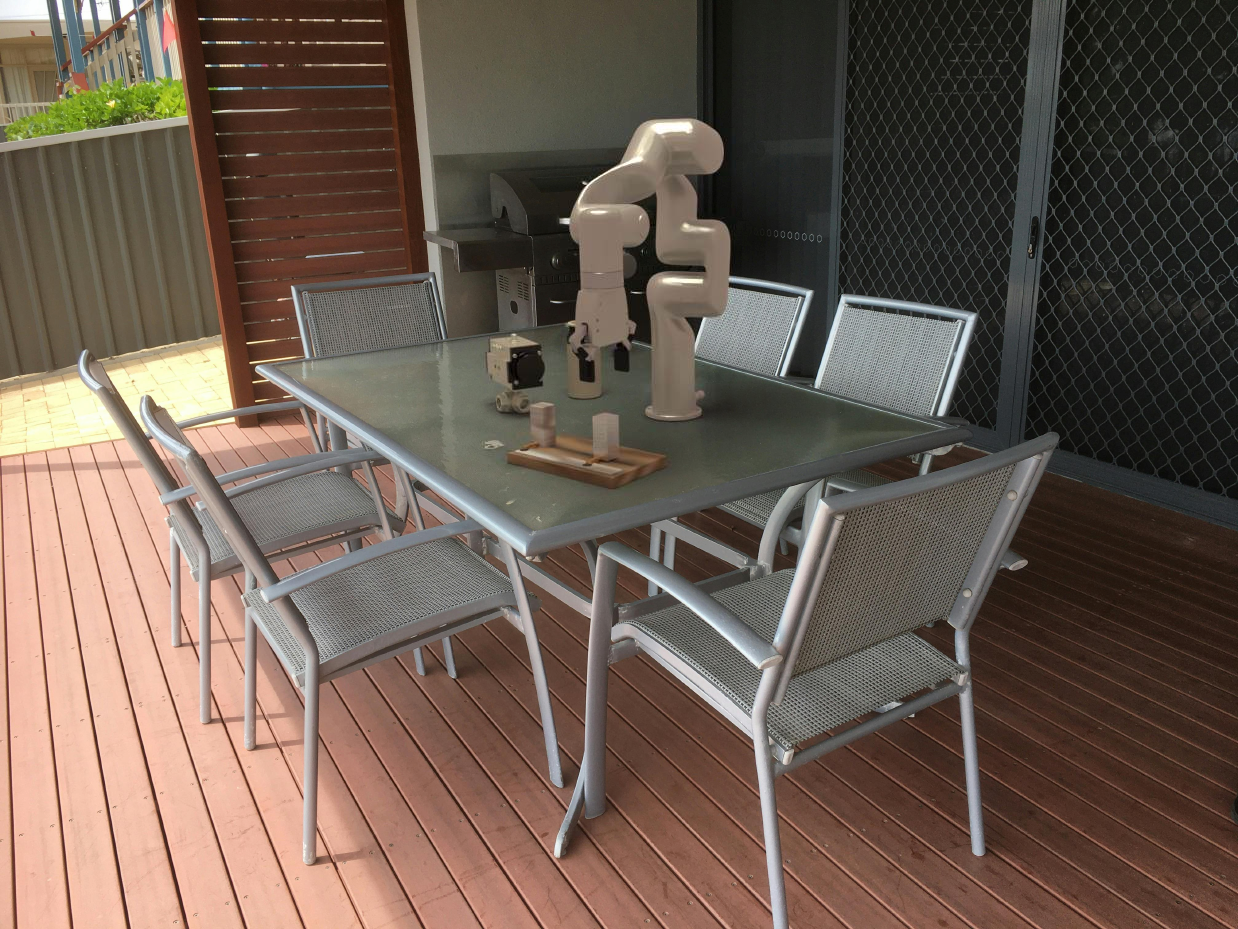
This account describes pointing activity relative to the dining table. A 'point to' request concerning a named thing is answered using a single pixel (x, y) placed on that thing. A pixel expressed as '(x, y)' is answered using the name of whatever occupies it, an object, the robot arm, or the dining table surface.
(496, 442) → the mounting bracket
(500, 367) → the ball valve
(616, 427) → the sliding block with pointer
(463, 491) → the dining table surface
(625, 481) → the rule board
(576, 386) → the travel mug
